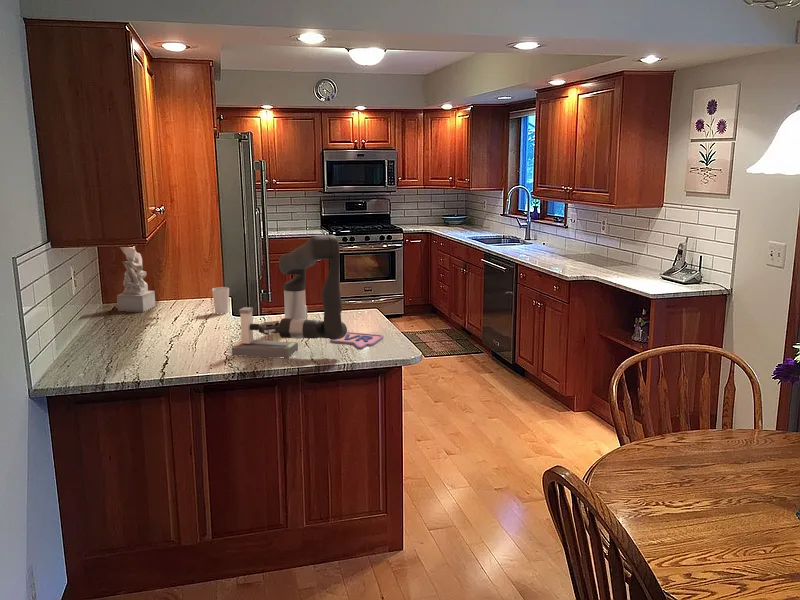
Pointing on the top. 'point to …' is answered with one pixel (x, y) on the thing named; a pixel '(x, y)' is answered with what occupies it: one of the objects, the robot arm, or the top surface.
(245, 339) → the handle
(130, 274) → the sculpture
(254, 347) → the switch base
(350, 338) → the icon
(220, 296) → the cup
